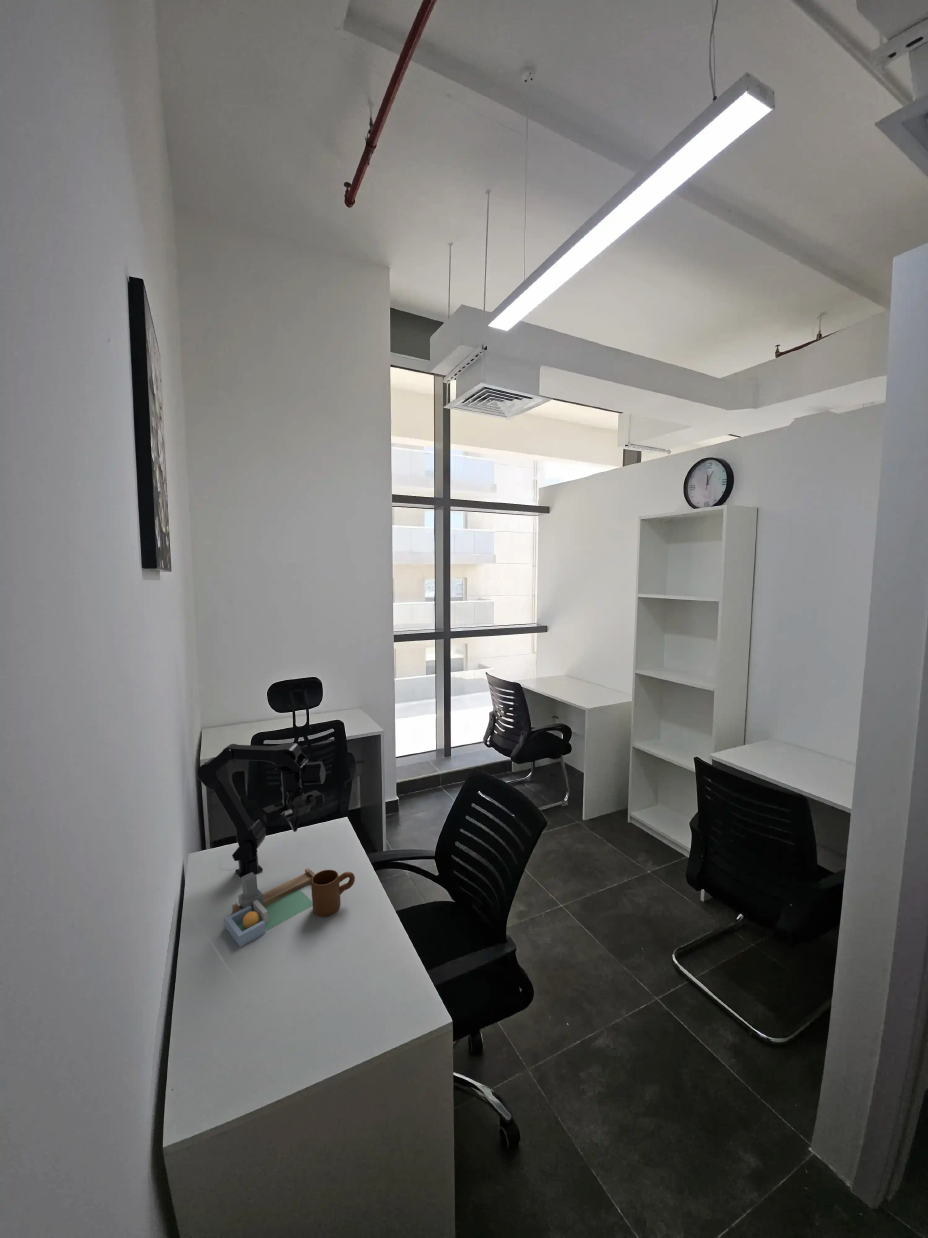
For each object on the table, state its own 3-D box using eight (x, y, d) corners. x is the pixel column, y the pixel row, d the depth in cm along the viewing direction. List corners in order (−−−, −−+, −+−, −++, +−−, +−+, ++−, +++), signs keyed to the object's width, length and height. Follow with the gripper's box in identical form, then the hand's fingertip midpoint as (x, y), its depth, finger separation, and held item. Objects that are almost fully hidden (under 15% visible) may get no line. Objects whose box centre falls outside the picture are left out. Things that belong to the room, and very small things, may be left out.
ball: (237, 920, 129) (249, 906, 132) (246, 927, 131) (258, 913, 133) (243, 927, 127) (255, 912, 129) (252, 934, 129) (264, 920, 131)
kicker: (239, 906, 138) (236, 877, 137) (256, 897, 141) (254, 869, 140) (256, 927, 129) (254, 896, 128) (275, 917, 132) (272, 887, 132)
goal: (225, 928, 130) (224, 918, 130) (250, 915, 135) (249, 905, 135) (240, 947, 123) (239, 936, 123) (265, 933, 128) (264, 922, 128)
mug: (354, 892, 143) (352, 862, 142) (358, 908, 136) (356, 877, 135) (311, 904, 139) (309, 873, 138) (314, 921, 132) (312, 889, 131)
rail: (232, 913, 136) (231, 905, 136) (308, 875, 153) (307, 867, 152) (239, 921, 133) (238, 913, 133) (316, 881, 149) (315, 874, 149)
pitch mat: (225, 927, 131) (225, 926, 131) (298, 889, 146) (298, 889, 146) (239, 946, 124) (239, 945, 124) (315, 904, 139) (315, 904, 139)
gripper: (271, 802, 141) (275, 853, 142) (330, 782, 154) (333, 829, 155) (258, 791, 149) (261, 839, 151) (315, 772, 162) (317, 817, 163)
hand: (294, 831), depth 155 cm, fingers closed
